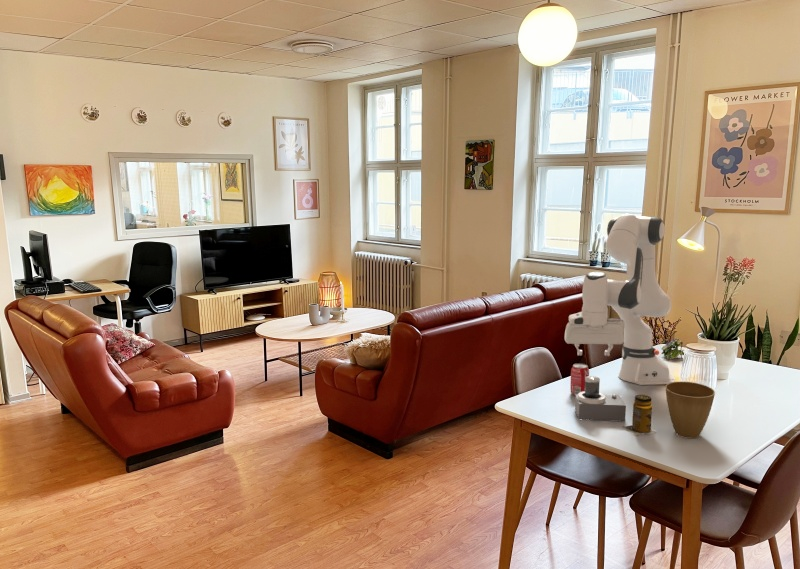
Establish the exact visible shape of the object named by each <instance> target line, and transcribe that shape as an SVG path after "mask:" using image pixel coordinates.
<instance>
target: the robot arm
mask: <svg viewBox="0 0 800 569" xmlns="http://www.w3.org/2000/svg"><path fill="white" fill-rule="evenodd" d="M606 233H607V239H606V243H605V248H606V252H607V253H608V255H609V256H610V257H611V258H613V259H614V260H616V261H617V262H621V263H622V264H623V263H624V264H625V265H626V276H627V277H628V278H626V279H613V278H608V275H607V273H605V272H602V271H592V272H588V273H587V274H585V275H584V278H583V284H582V295H581V296H582V297H581V298H582V303H583V304H582V307H581V311H579V312H577V313H573V314H569V316H568V322H567V324H566V325H565V331H564V341H565V343H566V344H568V345H569V344H571V345H574V346H575V348H576V352H577V356H583V349H579V347H580V345H582V344H583V345H607V346H608V347H607V349H605V350H604V352H603V353H604V356H605V357H610V353H611V351H612V350H613V348H614V345H622V348H621V358H622V360H621V361H622V362H621V366H620V370H619V373H618V378H619V379H620V380H623V381H626V382H629V383H633V384H636V385H639V386H640V385H641V386H651V385H653V386H654V385H667V384H669V383H672V382H676V378H675V377H674V376H673V375H672V374H670V369H669V367H668V365H667V364H666V363H665V362H664V361H663V360H662V359H661V358H660V357H658V355H660V350H658V349H656V348H655V347H653V345H652V343H653V331H652V328H651V326H649V324H647V323H645V321H644V319H643V318H642V317H649V318H665V317H666V316H667V315H668V314H669V313H670V311H671V309H672V300H671V298H670V296H669V295H668V294H667V293H666V292H665V291H664V290H663V289H662V288H661V286H660V284H659V281H658V280H657V274H656V246H655V245H657V243H660V242H661V241H662V240H663V239H664V235H665V233H666V226H665V222H664V221H663V220H662V218H660V217H657V216H652V217H651V216H645V215H644V216H642V215H634V214H631V213H625V214H624V213H623V214H622V215H620V216H617V217H613V218H612V219H610V220H609V222H608V223H607V227H606ZM608 306H609V307H610V306H611V308H612V310H614V312H616V313H617V315H618V317H619V318H618V317H616V318H613V317H608V314H609V313H608V311H609V309H608V308H609V307H608Z"/></svg>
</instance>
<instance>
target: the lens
mask: <svg viewBox="0 0 800 569" xmlns="http://www.w3.org/2000/svg"><path fill="white" fill-rule="evenodd" d="M600 379H601V378H599V377H598V376H594V375H593V376H592V375H591V376H590V375H589V376H588V377H585V397H586V398H590V399H597V398H599V393H600Z"/></svg>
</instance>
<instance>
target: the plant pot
mask: <svg viewBox="0 0 800 569" xmlns="http://www.w3.org/2000/svg"><path fill="white" fill-rule="evenodd" d="M665 394H666V403H667V409H668V412H669V413H668V414H669V417H670V421H671V425H672V427H673V430H674V432H675V434H676V435H678V436H679V437H681V438H686V439H697V438H699V437H700V436H701V434H702V432H703V431H704V428H705V425H706V424H707V422H708V418H709V415H710V412H711V410H712V407H713V403H714V399H715V396H716V391H715V389H714V388H712V387H710V386H708V385H705V384H702V383H698V382H691V381H675V382H672V383H669V384H665Z"/></svg>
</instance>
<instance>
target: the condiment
mask: <svg viewBox="0 0 800 569" xmlns="http://www.w3.org/2000/svg"><path fill="white" fill-rule="evenodd" d="M632 405H633V406H632V419H631V420H632V422H631V425H624V426H621V427H622V428H623V429H624V430H626V431H627V432H629V433H630V434H631V435H633V436H638V435H639V436H640V435H649V434H650V435H651V434H656V433H657V432H656V431H655V430H653V429H652V418H653V417H652V416H653V415H652V414H653V405H652V397H651V396H650V395H647V394H636V395H635V396H634V402H633V404H632Z"/></svg>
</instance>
